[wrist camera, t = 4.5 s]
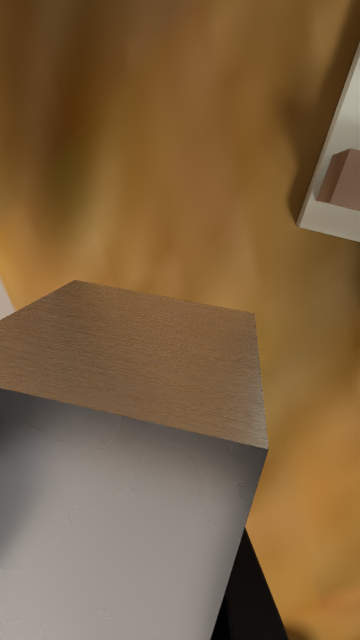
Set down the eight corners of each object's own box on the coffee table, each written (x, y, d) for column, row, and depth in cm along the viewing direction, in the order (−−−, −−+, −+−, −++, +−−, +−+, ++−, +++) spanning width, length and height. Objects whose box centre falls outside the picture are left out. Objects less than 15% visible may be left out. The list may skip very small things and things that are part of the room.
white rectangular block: (191, 579, 10) (163, 791, 7) (70, 546, 11) (-17, 728, 7) (254, 313, 7) (269, 449, 3) (74, 279, 7) (-88, 366, 4)
